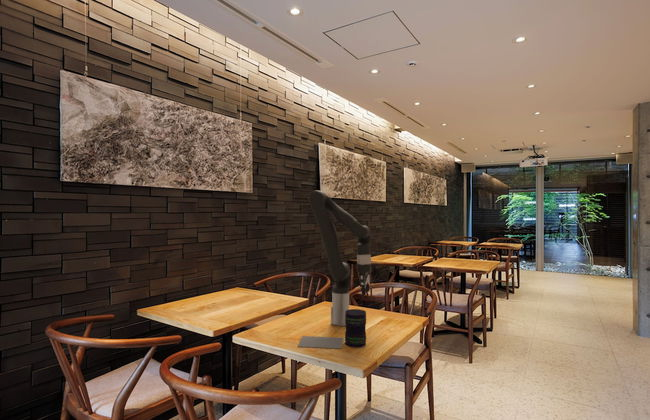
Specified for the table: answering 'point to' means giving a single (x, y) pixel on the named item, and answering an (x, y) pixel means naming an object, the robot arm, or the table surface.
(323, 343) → the mat
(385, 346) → the table surface
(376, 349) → the table surface
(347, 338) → the dark ribbed cylinder
